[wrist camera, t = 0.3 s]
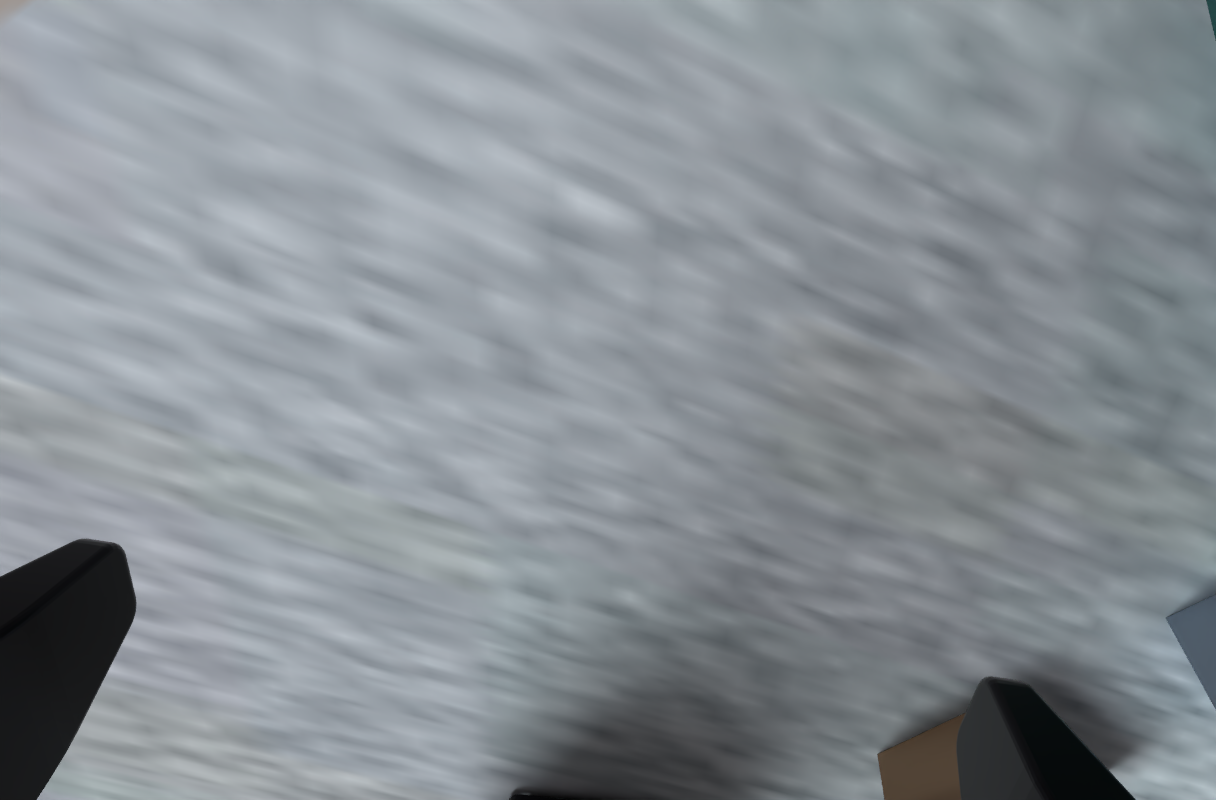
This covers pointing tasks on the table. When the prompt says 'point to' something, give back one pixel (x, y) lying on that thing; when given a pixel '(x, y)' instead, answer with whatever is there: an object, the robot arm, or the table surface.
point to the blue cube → (1199, 640)
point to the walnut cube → (923, 765)
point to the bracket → (1212, 13)
